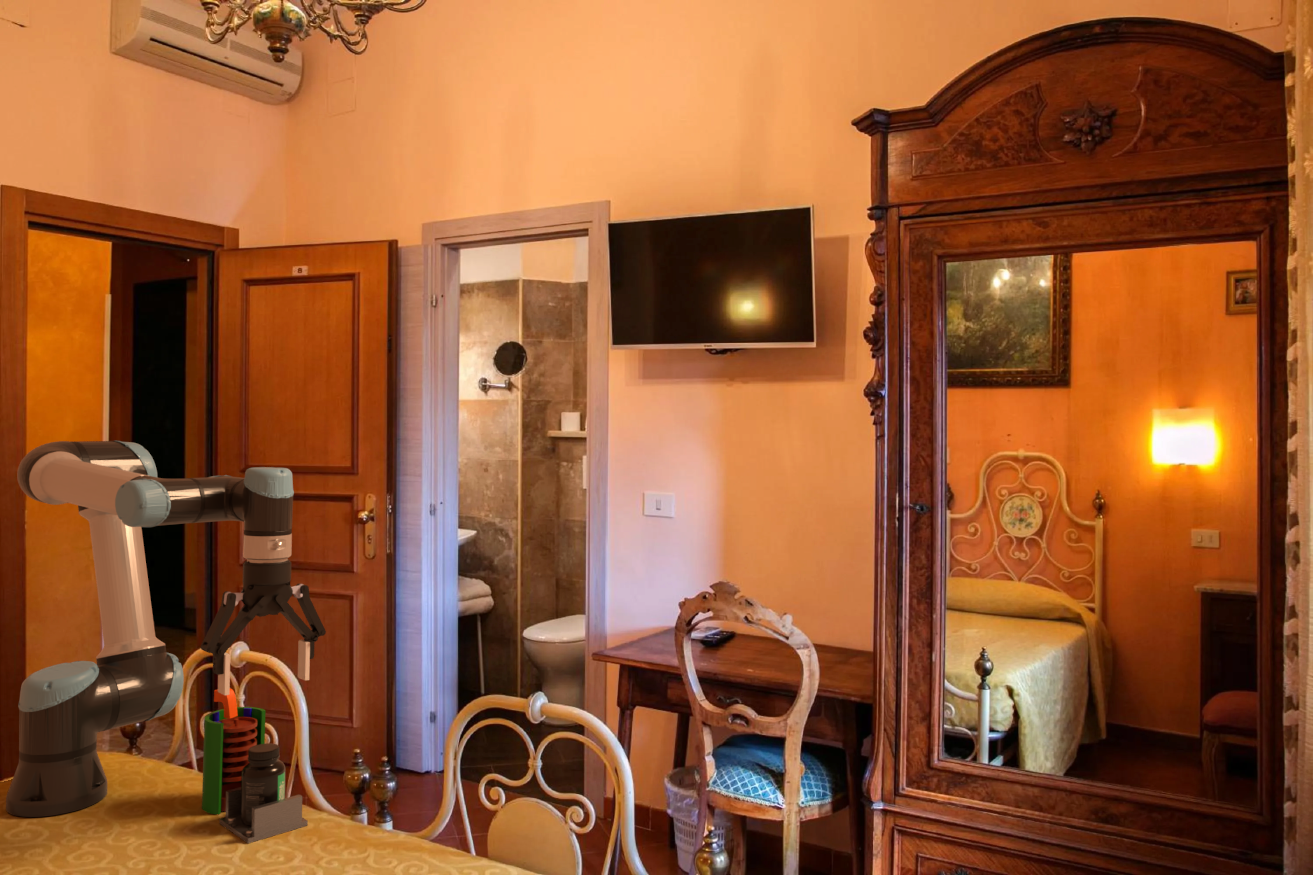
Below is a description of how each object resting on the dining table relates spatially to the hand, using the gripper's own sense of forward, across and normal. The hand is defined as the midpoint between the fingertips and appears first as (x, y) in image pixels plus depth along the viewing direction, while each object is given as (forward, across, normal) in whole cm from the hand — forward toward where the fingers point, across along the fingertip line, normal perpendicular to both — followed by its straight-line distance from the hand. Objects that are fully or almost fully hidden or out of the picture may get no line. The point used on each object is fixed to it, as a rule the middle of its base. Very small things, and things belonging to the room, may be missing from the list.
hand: (264, 685), depth 159 cm
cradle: (+23, 0, 0) cm, 23 cm away
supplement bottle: (+23, 0, 0) cm, 23 cm away
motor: (+24, 0, +13) cm, 27 cm away
